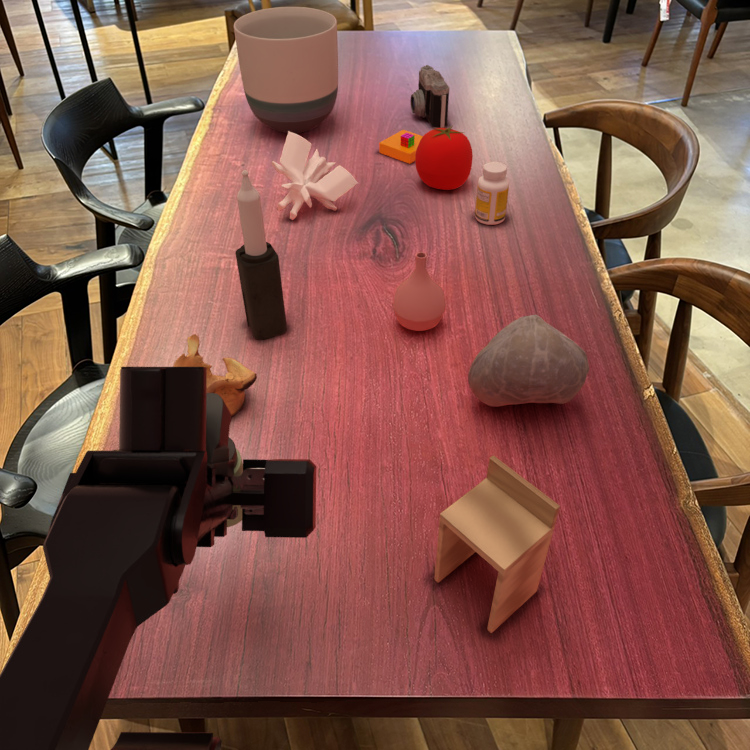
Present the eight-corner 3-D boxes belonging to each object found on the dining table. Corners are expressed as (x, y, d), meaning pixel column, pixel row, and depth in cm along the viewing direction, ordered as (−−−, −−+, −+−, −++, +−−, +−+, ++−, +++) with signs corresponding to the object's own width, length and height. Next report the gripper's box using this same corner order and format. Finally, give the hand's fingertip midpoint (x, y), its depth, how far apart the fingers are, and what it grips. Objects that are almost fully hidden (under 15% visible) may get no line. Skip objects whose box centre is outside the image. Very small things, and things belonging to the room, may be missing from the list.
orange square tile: (379, 152, 147) (378, 132, 144) (403, 139, 151) (403, 119, 148) (409, 164, 143) (410, 143, 140) (433, 150, 148) (434, 130, 145)
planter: (234, 142, 151) (217, 35, 136) (266, 104, 166) (254, 4, 151) (327, 151, 148) (320, 42, 133) (351, 111, 162) (347, 9, 147)
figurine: (311, 250, 134) (348, 195, 139) (328, 227, 123) (367, 169, 128) (243, 202, 131) (284, 148, 136) (254, 174, 121) (298, 117, 125)
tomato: (455, 203, 132) (459, 148, 124) (405, 189, 136) (406, 134, 128) (480, 179, 138) (485, 125, 131) (431, 167, 142) (434, 113, 135)
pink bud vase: (441, 343, 103) (446, 273, 95) (388, 337, 104) (389, 268, 96) (446, 310, 108) (451, 242, 100) (396, 305, 109) (397, 237, 101)
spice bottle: (256, 519, 66) (244, 462, 61) (204, 534, 65) (188, 478, 60) (244, 481, 70) (232, 424, 64) (194, 495, 68) (178, 439, 63)
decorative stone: (567, 373, 98) (588, 284, 87) (592, 429, 90) (618, 338, 80) (458, 383, 97) (467, 293, 86) (475, 440, 89) (486, 349, 79)
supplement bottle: (504, 210, 130) (510, 160, 123) (505, 226, 126) (512, 175, 119) (474, 209, 130) (479, 158, 123) (474, 225, 126) (479, 173, 119)
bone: (166, 431, 91) (152, 384, 85) (173, 379, 98) (160, 331, 92) (262, 423, 92) (253, 375, 86) (262, 371, 99) (254, 324, 93)
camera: (403, 104, 165) (404, 59, 158) (431, 101, 166) (433, 56, 159) (419, 131, 154) (421, 84, 147) (449, 128, 155) (452, 81, 148)
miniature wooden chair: (491, 633, 70) (508, 550, 61) (434, 579, 75) (441, 493, 65) (537, 591, 74) (560, 505, 64) (479, 541, 78) (493, 454, 68)
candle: (245, 321, 107) (219, 165, 90) (277, 312, 108) (257, 157, 91) (256, 341, 103) (230, 183, 86) (289, 332, 105) (270, 174, 88)
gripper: (305, 399, 52) (325, 400, 67) (50, 396, 52) (128, 398, 68) (303, 554, 51) (323, 519, 67) (46, 551, 52) (125, 517, 67)
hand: (225, 485), depth 67 cm, fingers closed on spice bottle, 5 cm apart
